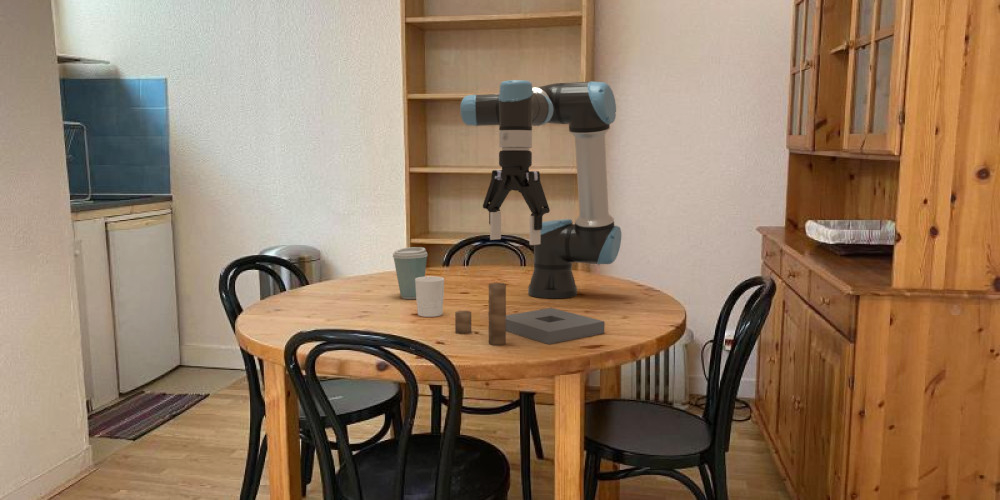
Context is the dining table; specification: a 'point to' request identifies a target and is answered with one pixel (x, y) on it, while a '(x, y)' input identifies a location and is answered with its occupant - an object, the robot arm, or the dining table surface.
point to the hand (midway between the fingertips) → (514, 242)
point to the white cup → (429, 296)
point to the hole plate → (553, 325)
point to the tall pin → (497, 314)
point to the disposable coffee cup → (409, 269)
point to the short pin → (463, 322)
